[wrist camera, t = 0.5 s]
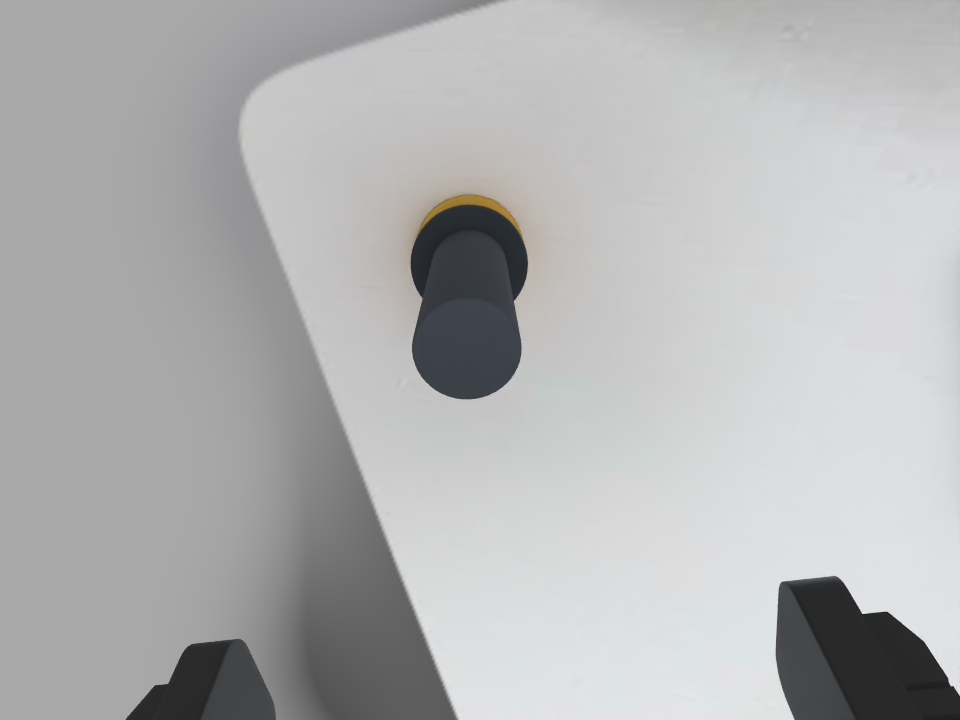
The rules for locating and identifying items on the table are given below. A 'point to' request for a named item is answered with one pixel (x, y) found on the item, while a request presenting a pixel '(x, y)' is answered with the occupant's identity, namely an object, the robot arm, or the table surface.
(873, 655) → the robot arm
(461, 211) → the sponge wand
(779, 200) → the table surface
